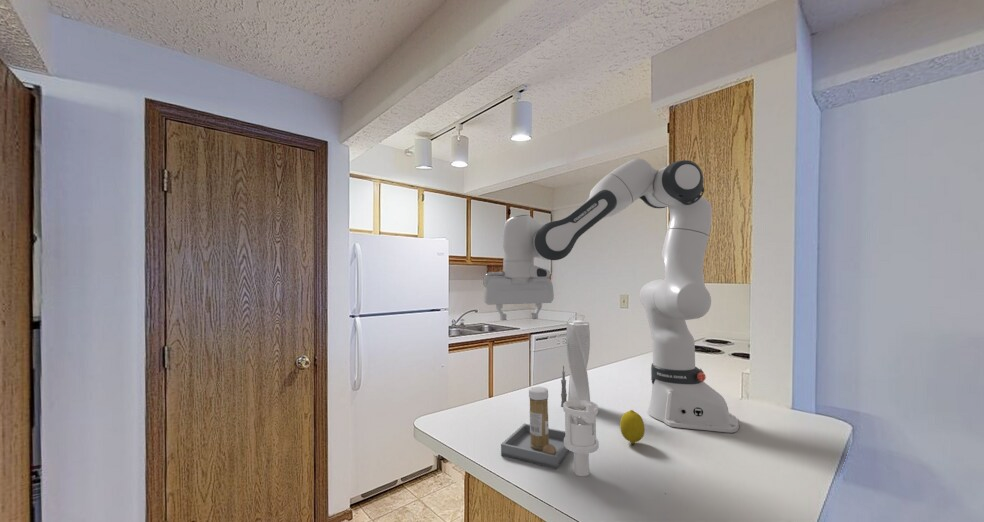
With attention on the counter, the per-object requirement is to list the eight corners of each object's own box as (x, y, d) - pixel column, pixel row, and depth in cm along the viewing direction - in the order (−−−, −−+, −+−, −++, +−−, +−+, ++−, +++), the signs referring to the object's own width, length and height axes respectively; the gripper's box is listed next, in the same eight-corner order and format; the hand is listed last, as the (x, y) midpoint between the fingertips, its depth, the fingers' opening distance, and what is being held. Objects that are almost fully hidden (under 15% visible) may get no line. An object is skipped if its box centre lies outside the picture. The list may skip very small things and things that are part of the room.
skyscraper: (571, 399, 124) (570, 313, 125) (595, 404, 120) (593, 315, 120) (560, 407, 118) (558, 316, 118) (585, 413, 113) (583, 318, 114)
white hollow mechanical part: (577, 485, 75) (576, 407, 75) (557, 468, 81) (556, 397, 81) (606, 476, 77) (605, 402, 78) (584, 461, 84) (583, 392, 84)
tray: (574, 443, 92) (574, 433, 92) (556, 468, 81) (556, 457, 81) (524, 433, 99) (524, 423, 99) (501, 455, 87) (500, 444, 87)
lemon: (644, 440, 94) (643, 407, 94) (645, 450, 89) (644, 415, 89) (620, 437, 96) (619, 405, 96) (620, 447, 90) (619, 413, 91)
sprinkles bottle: (553, 447, 89) (552, 389, 89) (538, 452, 87) (537, 393, 87) (540, 440, 93) (539, 384, 93) (525, 445, 91) (524, 388, 91)
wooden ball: (558, 457, 85) (558, 443, 85) (553, 463, 82) (553, 449, 82) (545, 454, 86) (545, 440, 86) (540, 460, 83) (540, 446, 83)
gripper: (485, 271, 105) (486, 322, 104) (555, 271, 109) (556, 319, 109) (481, 271, 111) (481, 319, 111) (547, 271, 115) (548, 317, 115)
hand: (519, 319), depth 110 cm, fingers open, 8 cm apart
